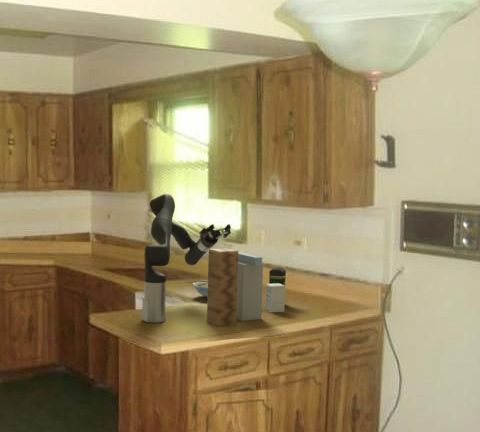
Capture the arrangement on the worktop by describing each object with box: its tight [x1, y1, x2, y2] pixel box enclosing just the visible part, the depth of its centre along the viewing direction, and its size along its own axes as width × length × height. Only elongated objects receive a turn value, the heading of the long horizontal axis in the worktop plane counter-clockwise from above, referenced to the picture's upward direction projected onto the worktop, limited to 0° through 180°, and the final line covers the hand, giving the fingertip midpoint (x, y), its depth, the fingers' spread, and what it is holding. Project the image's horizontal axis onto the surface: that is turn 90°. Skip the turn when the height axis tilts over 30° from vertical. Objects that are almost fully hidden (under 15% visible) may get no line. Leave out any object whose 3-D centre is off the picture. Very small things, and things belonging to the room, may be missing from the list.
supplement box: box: [264, 283, 286, 313], centre depth 348 cm, size 7×7×13 cm
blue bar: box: [238, 251, 263, 266], centre depth 331 cm, size 4×24×4 cm, turn 30°
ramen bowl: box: [187, 279, 208, 299], centre depth 376 cm, size 25×23×8 cm
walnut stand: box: [206, 247, 239, 327], centre depth 316 cm, size 9×10×32 cm
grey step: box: [236, 261, 264, 322], centre depth 331 cm, size 10×12×25 cm
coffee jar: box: [268, 266, 287, 287], centre depth 362 cm, size 10×8×19 cm
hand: (221, 225), depth 340 cm, fingers open, 8 cm apart
